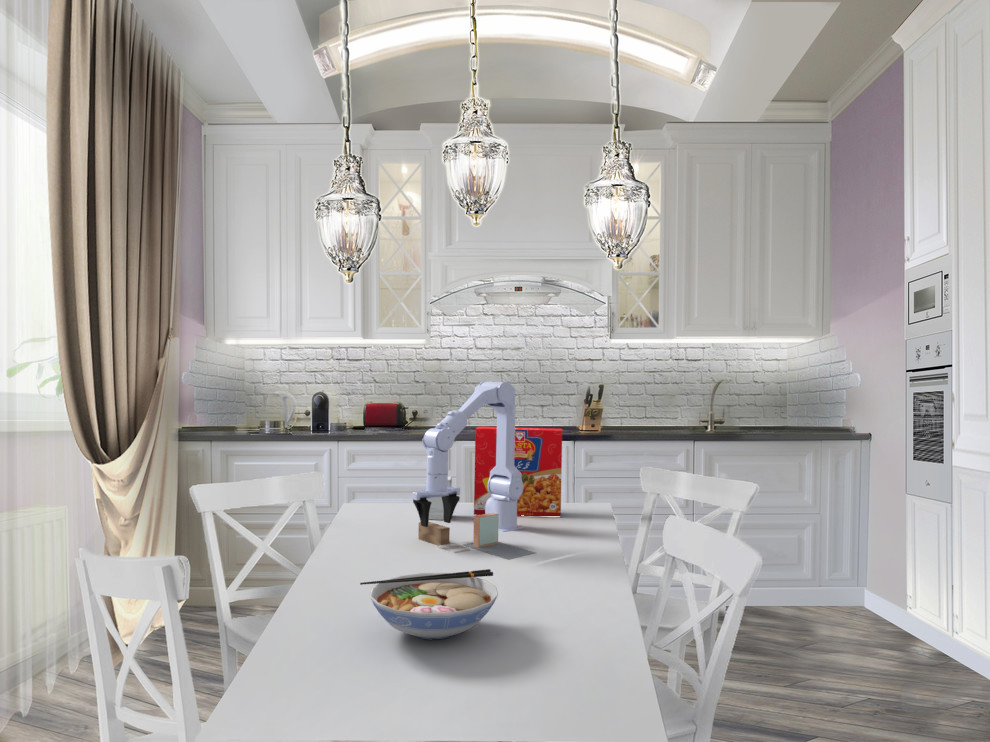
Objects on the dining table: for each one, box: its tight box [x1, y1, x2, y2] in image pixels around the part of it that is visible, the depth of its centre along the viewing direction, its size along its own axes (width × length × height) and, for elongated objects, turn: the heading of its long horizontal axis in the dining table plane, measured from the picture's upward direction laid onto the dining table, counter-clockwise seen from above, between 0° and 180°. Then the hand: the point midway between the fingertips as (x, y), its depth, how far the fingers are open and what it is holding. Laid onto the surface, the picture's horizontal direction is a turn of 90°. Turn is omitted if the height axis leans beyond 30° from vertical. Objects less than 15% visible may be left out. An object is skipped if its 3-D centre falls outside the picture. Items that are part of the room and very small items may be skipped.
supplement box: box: [427, 475, 453, 521], centre depth 217 cm, size 7×7×13 cm
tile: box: [472, 513, 499, 548], centre depth 182 cm, size 2×7×8 cm, turn 132°
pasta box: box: [473, 426, 563, 517], centre depth 225 cm, size 28×8×28 cm, turn 85°
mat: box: [462, 541, 537, 561], centre depth 179 cm, size 18×10×1 cm, turn 42°
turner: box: [417, 521, 471, 554], centre depth 182 cm, size 17×5×5 cm, turn 42°
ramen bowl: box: [359, 568, 499, 641], centre depth 122 cm, size 25×23×8 cm
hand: (436, 524), depth 184 cm, fingers open, 7 cm apart
